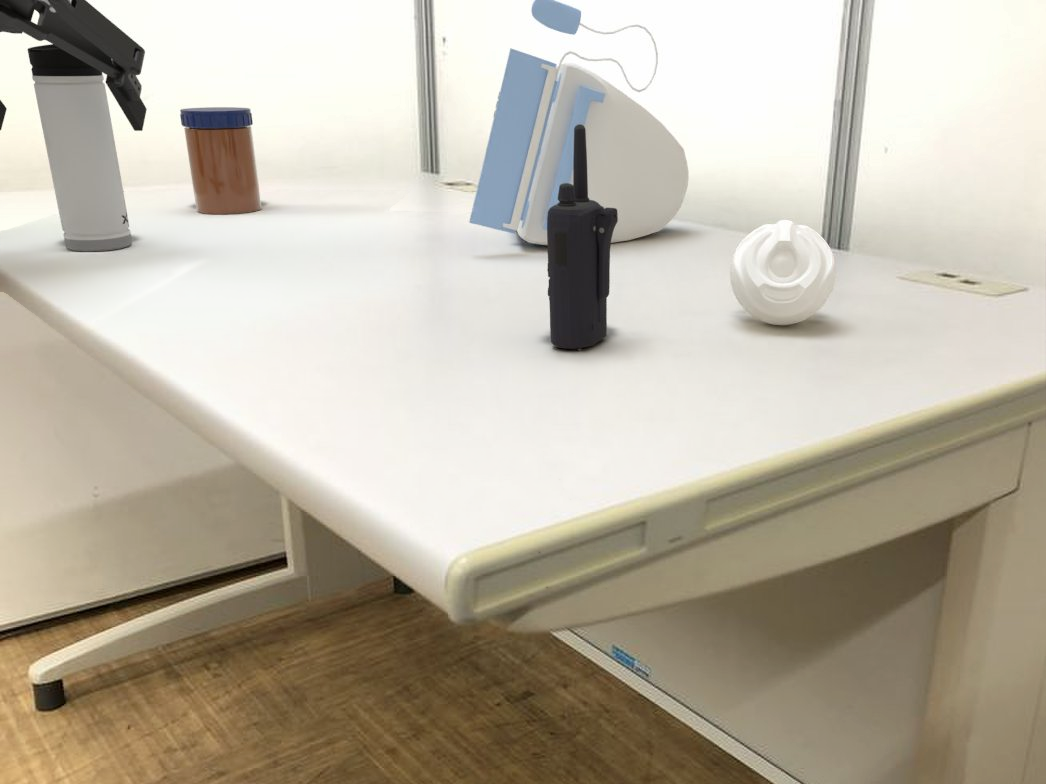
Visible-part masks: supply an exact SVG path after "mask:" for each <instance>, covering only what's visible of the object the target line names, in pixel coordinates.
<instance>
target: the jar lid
mask: <svg viewBox="0 0 1046 784" xmlns="http://www.w3.org/2000/svg"><path fill="white" fill-rule="evenodd" d="M179 111H180V112H179V113H180V114H179V116H180V124H181V126H182V127H184V128H185V127H192V128H229V127H245V126H251V127H252V125H253V124H254V123H253V115H252V111H251V108H248V107H235V106H234V107H232V106H231V107H230V106H226V107H225V106H217V107H216V106H215V107H214V106H213V107H187V108H181V109H180V110H179Z"/></svg>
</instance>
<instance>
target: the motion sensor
mask: <svg viewBox="0 0 1046 784" xmlns="http://www.w3.org/2000/svg"><path fill="white" fill-rule="evenodd" d="M729 268H730V270H729V279H730V280H729V281H730V285H731V290H732V292H733V294H734V295H733V296H735V299H736V300H737V302H738V303H739V305H740V306H741V307H742V308H743V309H744V311H746V312H747V313H748V314H749V315H750V316H752V317H753V318H755V319H756V320H758V321H760V322H762V323H765V324H768V325H772V326H773V325H774V326H790V325H795V324H798V323H802V322H803V321H805V320H807V319H809V318H811V317H812V316H813V315H815V314H816V313H818V311H819V310H821V309H822V308H823V306H824V305H825V304H826V302H827V301H828V300H829V298H830V297H831V295H832V292H833V290H834V287H835V282H836V276H837V275H836V274H837V269H836V268H837V267H836V262H835V257H834V253H833V251H832V248H831V247H830V245H829V244H828V242H827V241H826V240H825V239H824V238H823V236H822V235H821V234H820V233H818V232H817V231H816V230H814V229H813V228H811V227H810V226H807V225H805V224H796V223H795V222H794V221H793V220H790V219H780V220H779V221H777V222H776V223H765V224H763V225H761V226H759V227H756V228H754V230H752V231H751V232H750V233H749V234H747V235H746V236H745V237H743V239H742V240H741V241H740V243H738V245H737V247H736V249H735V250H734V253H733V256H732V259H731V263H730V267H729Z"/></svg>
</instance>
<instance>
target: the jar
mask: <svg viewBox="0 0 1046 784" xmlns="http://www.w3.org/2000/svg"><path fill="white" fill-rule="evenodd" d="M183 130H184V137H185V142H186V144H185V145H186V149H187V158H188V164H189V170H190V176H191V182H192V183H191V184H192V190H193V197H194V203H195V210H196V213H200V214H204V215H205V214H206V215H237V214H238V215H239V214H248V213H253V212H257V211H260V210H262V200H261V191H260V183H259V175H258V168H257V160H256V153H255V145H254V138H253V137H254V136H253V128H252V125H251V126H245V127H229V128H192V127H184V129H183Z"/></svg>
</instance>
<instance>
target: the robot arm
mask: <svg viewBox="0 0 1046 784" xmlns="http://www.w3.org/2000/svg"><path fill="white" fill-rule="evenodd" d="M35 11H36V12H37V13H38V15H39V16H38V19H37V23H35V22H33V21H32V19H33V15H34V12H35ZM0 33H9V34H13V35H15V34H20V35H21V34H23V33H24V34H26V35H27V36H29V37H31V38H32V39H34V40H36V41H38V42H42V41H46V42H47V43H50V44H54V45H55V46H57V47H59V48H61V49H62V50H64V51H66V52H68V53H69V54H71V55H73V56H75V57H76V58H78V59H80V60H82V61H83V62H85V63H87V64H89V65H90V66H92V67H94V68H96V69H97V70H99V71H101V72H102V74H103V75H106V77H105V85H106V86H107V88H108V89H109V91H110V92H111V94H112V96H113V97H114V99H115V100H116V102H117V104H118V106H119V107H120V109H121V111H122V112H123V114H124V116H125V117H126V119H127V121H128V122H129V124H130V126H131V127H132V129H133V130H134V131H135V132H143V130H144V129H143V128H144V124H145V119H146V115H147V109H148V108H147V106H146V105H145V103H144V101H143V100H142V98H141V96H142V95H141V94H142V87H143V86H142V83H141V82H140V80H139V78H138V76H139V75H141V74H142V69H143V64H144V60H145V55H146V50H145V49H144V48H143V46H141V45H140V44H138V43H137V41H135V40H134V39H132V37H130V36H129V35H128V34H127V33H126V32H124V30H122V29H121V28H119V26H117V25H116V24H114V22H113V21H111V20H110V19H109V18H108V17H106V16H105V15H104V14H103V13H102V12H101V11H99V10H98V9H97V8H96V7H94V5H92V4H91V3H90V2H88V0H0ZM7 109H8V108H7V106H5V104H4V102H3V101H2V100H1V99H0V131H2V128H3V126H4V125H3V124H4V120H5V118H6V117H5V116H6V113H7Z"/></svg>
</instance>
